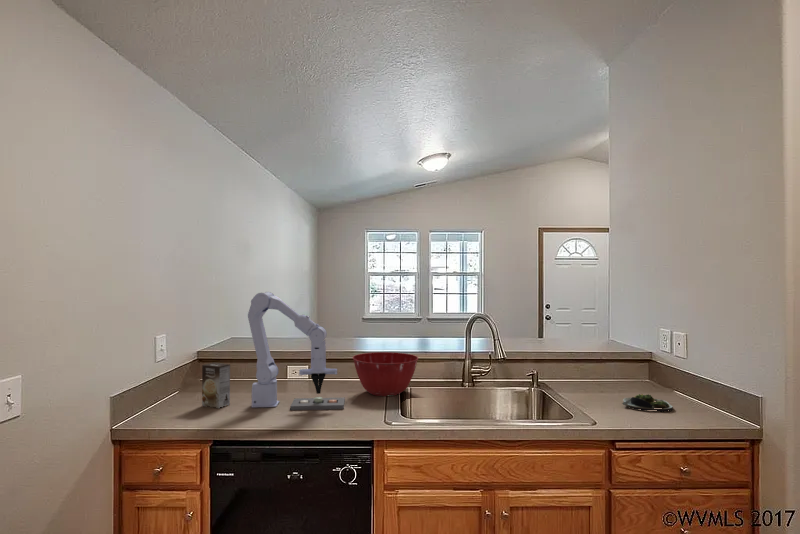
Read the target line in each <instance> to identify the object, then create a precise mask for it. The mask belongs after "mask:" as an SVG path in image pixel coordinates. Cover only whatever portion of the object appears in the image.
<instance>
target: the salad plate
mask: <svg viewBox="0 0 800 534" xmlns="http://www.w3.org/2000/svg"><path fill="white" fill-rule="evenodd" d="M654 401H656V402H654ZM621 404H622V405H624V406H625V407H627V408H628V407H630V408H634V409H641V410H657V411H668V410H671V411H672V410H673V409H674V407H673V405H672V404H670V402H668V401H667V400H664V399H659V398H654V397H653V396H652V395H651V394H649V393H648V394H643V393H641V394H640V393H639V394H636V395H635V396H632V397H624V398H623V399H622V403H621ZM630 408H629V409H630ZM654 408H662V409H654ZM634 409H633V410H634Z"/></svg>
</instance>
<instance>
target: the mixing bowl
mask: <svg viewBox="0 0 800 534" xmlns="http://www.w3.org/2000/svg"><path fill="white" fill-rule="evenodd" d="M352 359H353V363H354V368H355V370H356V371H355V372H356V374H357V376H358V379H359V381H360V383H361V386H362V388H364V390H365V391H367V392H368V393H369V394H370V395H373V396H376V397H388V396H387V395H394V396H398V395H400V394H401V393H402V392H404V391H406V389H407V388H408V387H409V385H410V383H411V381H412V378H413V376H414V373H415V371H416V367H417V365H418V364H417V363H418V361H419V357H418V356H417V355H415V354H410V353H402V352H390V351H389V352H386V351H385V352H383V351H380V352H379V351H378V352H366V353H365V352H364V353H359V354H355V355H353V356H352ZM397 394H398V395H397Z"/></svg>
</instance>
